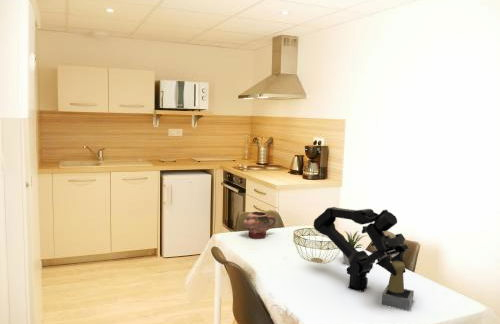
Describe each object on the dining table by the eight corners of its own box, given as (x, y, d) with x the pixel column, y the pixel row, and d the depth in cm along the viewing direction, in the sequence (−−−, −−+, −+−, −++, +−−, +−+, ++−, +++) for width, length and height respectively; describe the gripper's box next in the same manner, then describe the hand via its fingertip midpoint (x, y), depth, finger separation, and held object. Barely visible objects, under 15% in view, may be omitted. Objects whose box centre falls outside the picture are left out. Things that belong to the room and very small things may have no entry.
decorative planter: (269, 231, 251) (270, 209, 249) (279, 237, 240) (280, 214, 238) (239, 235, 242) (240, 212, 241) (248, 241, 231) (249, 217, 230)
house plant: (364, 259, 207) (366, 227, 205) (369, 269, 193) (371, 235, 191) (335, 257, 208) (337, 226, 206) (338, 267, 195) (340, 234, 193)
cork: (396, 285, 161) (398, 258, 159) (407, 291, 155) (410, 263, 154) (383, 287, 159) (386, 259, 157) (394, 293, 153) (397, 265, 152)
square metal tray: (381, 304, 158) (381, 294, 157) (386, 294, 166) (387, 285, 166) (409, 311, 153) (409, 300, 152) (413, 300, 161) (413, 290, 161)
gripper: (375, 230, 152) (399, 269, 144) (406, 223, 162) (429, 259, 155) (357, 245, 159) (379, 282, 152) (388, 237, 170) (409, 272, 162)
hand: (400, 273), depth 155 cm, fingers closed on cork, 5 cm apart
